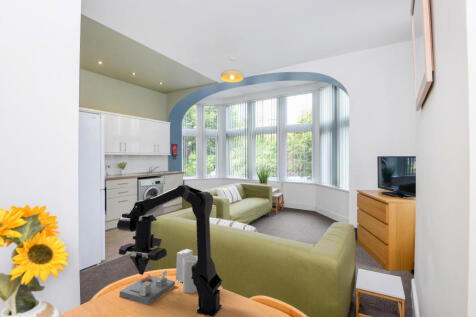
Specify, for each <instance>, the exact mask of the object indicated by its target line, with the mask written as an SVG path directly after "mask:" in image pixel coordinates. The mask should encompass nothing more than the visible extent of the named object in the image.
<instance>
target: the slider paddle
mask: <svg viewBox="0 0 476 317" xmlns="http://www.w3.org/2000/svg"><path fill="white" fill-rule="evenodd" d="M151 285H152V282H148V281H146V282H144V283H142V284H141V285H140V295H142V296H146V295H148V294H149V293H151Z"/></svg>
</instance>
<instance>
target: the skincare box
mask: <svg viewBox="0 0 476 317" xmlns="http://www.w3.org/2000/svg"><path fill="white" fill-rule="evenodd" d="M193 251H194V250H193V249H188V248H185V249H182V250H180V251H179V252H176V267H175V270H176V272H175V281H176V280H178V281H177V282H179V281H180V282H179V283H182V282H183V258H184V257H187V256H194V253H193Z"/></svg>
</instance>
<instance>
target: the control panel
mask: <svg viewBox="0 0 476 317" xmlns="http://www.w3.org/2000/svg"><path fill="white" fill-rule="evenodd" d="M160 279H161V277H158V276H154V275H150V281H148V282H152V285H151V293H149V294H148V295H146V296H142V295H140V285H141V284H142V283H144V282H142V278H141V279H139V280H137V281H136V282H134V283H132V284H130V285H128V286H126V287H124V288H123V289H120V290H119V298H122V299H126V300H129V301H133V302H136V303H140V304H144V305H147V306H149V305H151V304H152V303H154V302H155V301H156V300H158V299H160V296H161V297H162V296H163V295H165V294H166V293H167V292H169V291H170V290H171V289H170V288H172V287H173V286H174V285H175V286H176V280H171V279H168V277H166V276H165V278H164V283H163V284H161V281H159V280H160ZM175 286H174V287H175ZM174 287H173V288H174ZM173 288H172V289H173ZM169 289H170V290H169ZM168 290H169V291H168ZM165 292H166V293H165ZM164 293H165V294H164Z"/></svg>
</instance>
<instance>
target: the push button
mask: <svg viewBox="0 0 476 317" xmlns="http://www.w3.org/2000/svg"><path fill="white" fill-rule="evenodd" d="M150 276H151V274H143V275H141V279H142V282H146V281H150Z"/></svg>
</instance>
